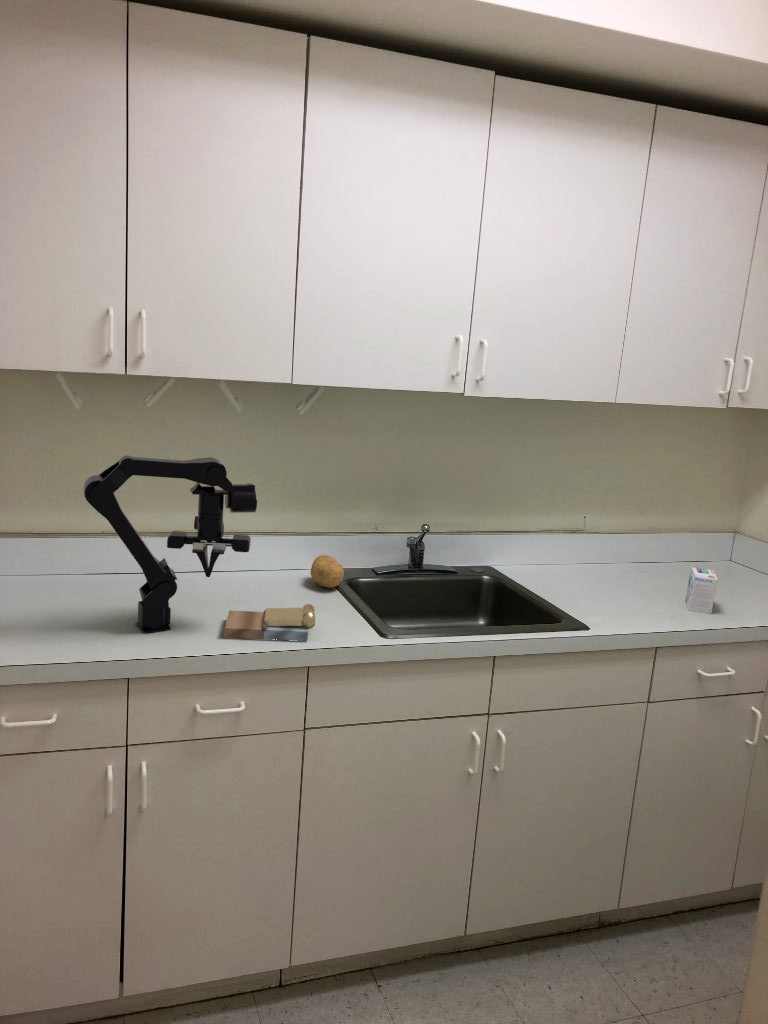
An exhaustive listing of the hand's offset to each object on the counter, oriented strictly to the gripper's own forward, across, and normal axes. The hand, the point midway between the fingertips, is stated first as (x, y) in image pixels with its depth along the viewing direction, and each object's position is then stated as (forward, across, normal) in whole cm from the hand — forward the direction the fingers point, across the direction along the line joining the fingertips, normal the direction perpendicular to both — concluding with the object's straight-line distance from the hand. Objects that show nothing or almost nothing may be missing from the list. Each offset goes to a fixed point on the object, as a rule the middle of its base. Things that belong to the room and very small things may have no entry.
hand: (208, 576), depth 191 cm
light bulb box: (+12, -140, -32) cm, 145 cm away
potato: (+12, -30, -34) cm, 47 cm away
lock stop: (+9, -14, +2) cm, 17 cm away
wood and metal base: (+12, -14, +2) cm, 19 cm away
